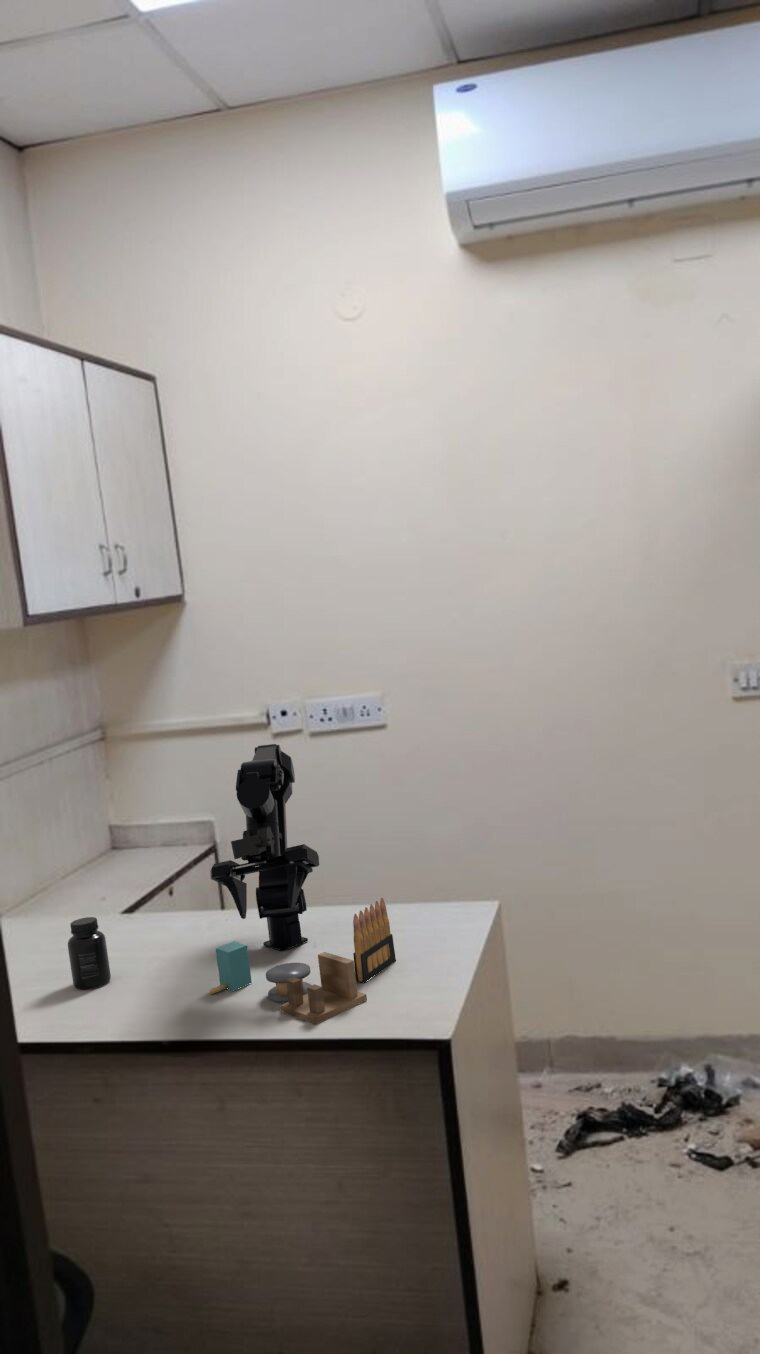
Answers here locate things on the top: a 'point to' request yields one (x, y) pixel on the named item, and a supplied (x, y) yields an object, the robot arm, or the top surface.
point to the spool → (284, 973)
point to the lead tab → (232, 966)
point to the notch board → (325, 991)
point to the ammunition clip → (372, 942)
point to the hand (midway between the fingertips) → (267, 913)
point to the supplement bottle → (88, 955)
